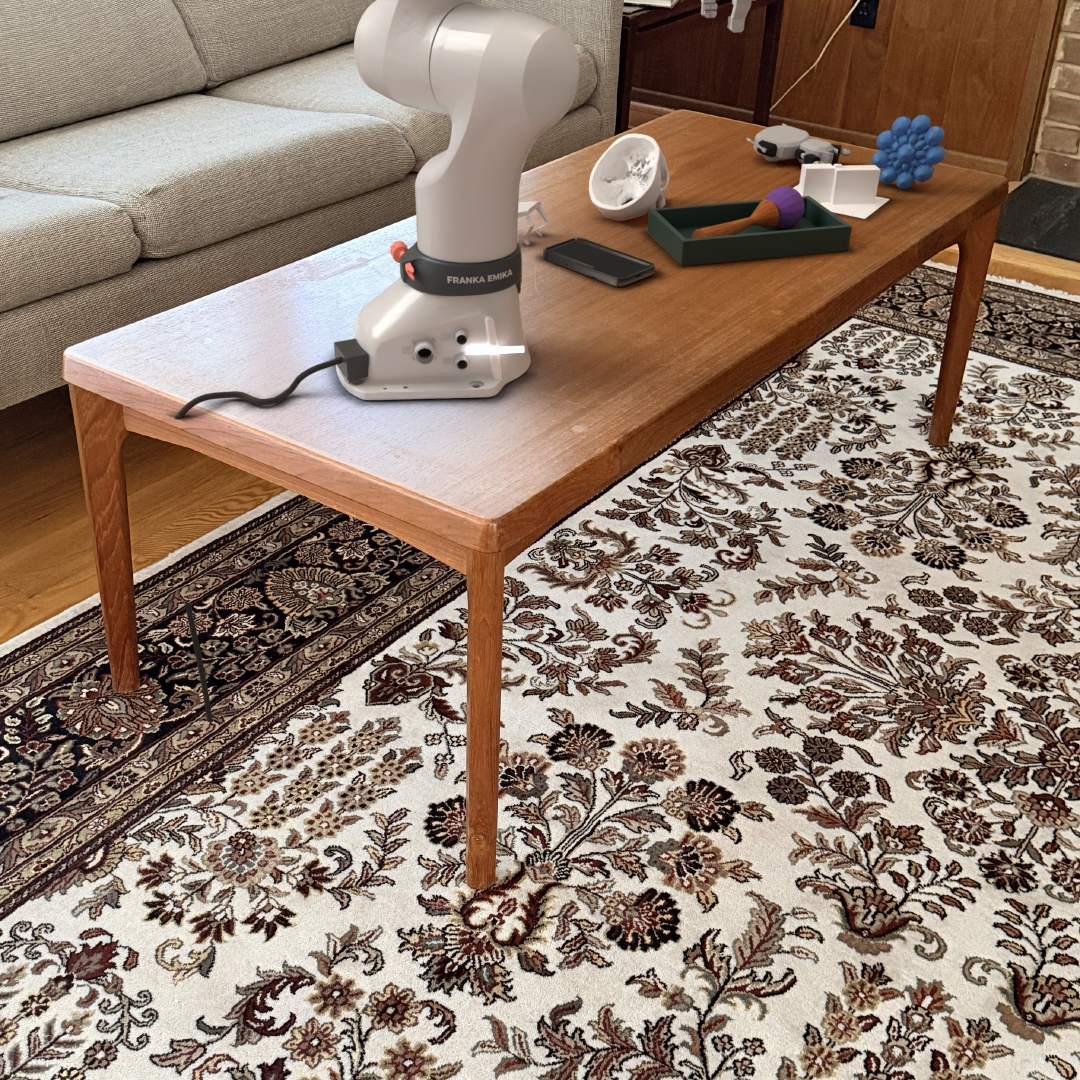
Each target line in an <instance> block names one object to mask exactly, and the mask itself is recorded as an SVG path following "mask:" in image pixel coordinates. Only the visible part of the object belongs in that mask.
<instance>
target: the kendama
mask: <svg viewBox="0 0 1080 1080" xmlns="http://www.w3.org/2000/svg"><path fill="white" fill-rule="evenodd" d="M793 188H794V187H790V186H785V185H784V186H779V187H777V188H773V190H771V191H770V192H769V193H768V194H767V195H766V197H765V198H764V199H762V200H763V201H761V202H760V203H759V205H758V206H757V208H756V209H755V211H754V212H753V213H752V215H751V216H750V217H749V218H744V219H740V220H736V221H731V222H727V223H723V224H719V225H714V226H710V227H706V228H702V229H697V230H695V231H694V232H693V235H692V238H703V237H715V236H726V235H735V234H737V233H739V232H741V231H742V230H744V229H746V228H747V227H749V226H751V225H756V226H761V227H765V228H774V227H775V228H778V229H787V228H790V227H793V226H794V225H796V224H797V223H798V222H799V221H800V219H801V218H802V216H803V214H804V208H805V205H804V201H803V198H802V196H801V194H800V193H799V192H798V191H797V190H796V189H793Z"/></svg>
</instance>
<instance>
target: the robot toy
mask: <svg viewBox="0 0 1080 1080" xmlns="http://www.w3.org/2000/svg"><path fill="white" fill-rule="evenodd" d="M745 139H746V141H747V142H749V143H751V144H752V145H753V150H754V151H755V152H756V154H757V155H759V156H762V157H763V158H764V159H765V160H766V161H767V162H770V163H776V162H779V161H787V160H788V161H789V160H793V159H797V160H798V163H800V164H831V165H832V166H834V164H838V162H839V160H840V156H841V155H842V156H844V157H849V156H851V150H850V149H849V148H842V147H843V146H842V145H841V144H835V143H831V142H830V141H826V140H823V139H818V138H814V137H811V135H810V134H809V132H808V131H806V130H803V129H800V128H796V127H794V126H791V125H787V124H785V123H781V125H774V126H769V127H766V128H764V129H762V130H760V131H759V132H758V133H756V135H755V137H754V141H753V140H752V139H751V138H749V137H746V138H745Z"/></svg>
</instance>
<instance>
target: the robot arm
mask: <svg viewBox="0 0 1080 1080" xmlns="http://www.w3.org/2000/svg"><path fill="white" fill-rule="evenodd" d="M481 1H482V0H375V1H373V2H372V3H370V5H369V6H368V7H367V8H366V10H365V11H364V12H363V14H362V15H361V17H360V19H359V22H358V24H357V26H356V30H355V34H354V41H353V55H354V61H355V65H356V68H357V69H356V70H357V72H358V74H359V76H360V78H361V80H362V81H363V83H364V84H365V85H366V86H367V87H368V88H369V89H371V90H372V91H374V92H376V93H378V94H380V95H381V96H383V97H385V98H387V99H389V100H391V101H393V102H394V103H397V104H398V105H402V106H404V107H406V108H407V107H408V108H411V109H412V108H413V109H416V110H421V111H426V112H430V113H435V114H438V115H443V116H448V117H449V118H450V121H451V133H450V140H449V143H448V147H447V149H446V150H443V151H441V152H439V153H437V154H436V155H434V156H432V157H431V158H430V159H428V160H427V161H426V162H425V163H424V164H423V166H422V168H421V169H420V170H419V172H418V173H417V175H416V178H415V182H414V194H415V197H414V198H415V218H416V220H415V221H416V223H415V224H416V242H414V244H413V245H411V246H410V247H409V248H408V245H407V244H406V243H405V242H404V241H401V240H395V241H393V243H391V244H392V245H390V246H389V248H390V249H389V253H390V255H391V256H392V259H393V260H394V261H395V263H396V264H397V263H398V264H399V274H400V277H399V278H398V279H397V280H395V281H394V282H393V283H392V284H391V285H389V286H388V287H387V288H386V289H384V290H383V291H382V292H380V293H378V295H377V296H375V297H374V298H373V299H371V300H369V301H368V302H367V303H366V304H365V305H363V307H362V308H361V309H360V311H359V313H358V315H357V318H356V322H355V327H354V334H353V338H351V339H345V340H339V341H338V340H337V341H334V342H333V349H334V350H333V351H334V358H333V359H329V360H327V361H324V362H321V363H318V364H315V365H313V366H310V367H308V368H306V369H305V370H304V371H302V372H300V373H299V374H298V375H297V376H296V377H295V379H294V380H293V381H292V382H291V384H290V385H289V386H288V387H287V388H286V389H284V391H282V392H280V394H278V395H276V396H273V397H268V398H258V397H255V396H253V395H251V394H249V393H246V392H243V391H239V390H234V391H233V390H231V391H230V390H229V391H217V392H216V391H215V392H210V393H208V392H207V393H205V394H201V395H199V396H196V397H194V398H192V399H191V400H190V401H188V402H187V403H186V404H185V405H184V406H183V407H181V408H180V410H179V411H178V412H177V414H176V415H175V416H174V420H181V419H183V418H184V417H185V416H186V414H187V413H189V411H190V410H191V409H193V408H194V407H195V406H197V405H198V404H201V403H203V402H206V401H210V400H219V399H236V398H237V399H242V400H245V401H247V402H249V403H251V404H253V405H257V406H270V405H275V404H278V403H280V402H282V401H283V400H284V399H286V398H288V397H289V396H290V395H292V394H293V393H294V392H295V390H296V389H298V387H299V385H300V384H301V383H302V382H303V380H305V379H306V378H307V377H310V376H311V375H313V374H315V373H317V372H319V371H322V370H326V369H329V368H332V367H334V366H335V370H336V375H337V377H338V379H339V382H340V384H341V385H342V386H343V388H344V389H345V390H346V391H347V392H349V393H350V394H351V395H353V396H354V397H356V398H359V399H361V400H363V401H384V400H385V401H386V400H389V401H390V400H391V401H392V400H429V399H466V398H469V399H470V398H472V399H473V398H490V397H494V396H496V395H498V394H499V393H500V392H501V390H502V389H503V388H504V386H506V385H507V384H509V383H510V382H512V381H514V380H516V379H518V378H520V377H521V376H522V375H523V374H525V373H526V372H527V371H528V369H529V368H530V366H531V362H532V360H531V354H530V352H529V349H528V346H527V342H526V336H525V332H524V327H523V322H522V321H523V320H522V313H521V304H520V294H521V291H522V283H523V255H522V245H521V244H520V243H518V225H519V224H518V222H519V221H518V220H519V218H518V202H520V201H519V199H520V187H521V179H522V175H523V170H524V167H525V164H526V161H527V158H528V156H529V154H530V152H531V151H532V149H533V147H534V145H535V143H536V142H537V140H538V139H539V138H540V137H541V136H542V135H543V134H544V133H546V131H548V130H549V129H550V128H551V127H553V126H554V125H556V124H558V123H559V122H560V121H561V120H562V119H563V117H564V116H566V114H567V113H568V111H569V110H570V109H571V107H572V106H573V103H574V101H575V99H576V96H577V93H578V91H579V86H580V81H581V80H580V79H581V66H580V58H579V54H578V51H577V47H576V45H575V43H574V41H573V39H572V37H571V36H570V34H569V33H568V31H566V30H565V29H563V28H561V27H559V26H557V25H555V24H553V23H550V22H549V21H547V20H544V19H542V18H539V17H538V16H534V15H532V14H530V13H528V12H525V11H519V10H512V9H506V8H500V7H494V6H489V5H482V4H481ZM731 1H732V2H731V4H732V5H733V7H732V11H731V14H730V15H729V16H727V26H726V27H727V30H728V31H730V32H731V33H743V32H744V30H745V22H746V18H747V15H748V13H749V11H750V9H751V6H752V1H755V0H731ZM700 2H701V9H700V14H701V16H702V17H704V18H706V19H715V18H716V16H717V14H718V11H717V10H718V3H716V0H700ZM184 608H185V613H186V617H187V623H188V626H189V627H188V628H189V631H190V637H191V642H192V645H193V650H194V651H193V652H194V657H195V660H196V665H197V671H198V675H199V680H200V686H201V687H200V688H201V692H202V698H203V702H204V703H203V704H204V709H205V716H206V722H207V723H213V721H214V719H213V713H212V706H211V699H210V693H209V688H208V683H207V682H208V681H207V676H206V672H205V671H206V670H205V666H204V661H203V656H202V651H201V646H200V640H199V636H198V632H197V631H198V630H197V626H196V622H195V616H194V612H193V607H192V602H185V603H184Z"/></svg>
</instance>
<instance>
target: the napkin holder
mask: <svg viewBox="0 0 1080 1080" xmlns="http://www.w3.org/2000/svg"><path fill="white" fill-rule="evenodd" d="M880 172H881V169H879V168H878V167H877V166H876V165H873V164H864V165H863V164H862V165H861V164H860V165H842V163H836V164H834V165H831V164H803V163H801V169H800V177H799V183H798V184H797V185H795V186H794V187H792V188H793V189H796V190H797V191H798V192H799V193H800V194H801V196H810V197H811V198H813V199H814V200H815V201H817V202H818V203H820V204H821V205H823V206H824V207H825V208H827V209H828V210H830V211H831V212H832V213H834V214H840V215H844V216H849V217H854V218H859V219H863V220H865V219H867V218H868V217H869V216H871V215H872V214H873V213H874V212H876V211H877V210H879V208H881V207H882V206H883V205H885V204H886V203H887V202H889V201H890V200H891V199H890V198H886V197H882V196H877V192H878V186H879V180H880V178H879V176H880Z"/></svg>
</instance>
